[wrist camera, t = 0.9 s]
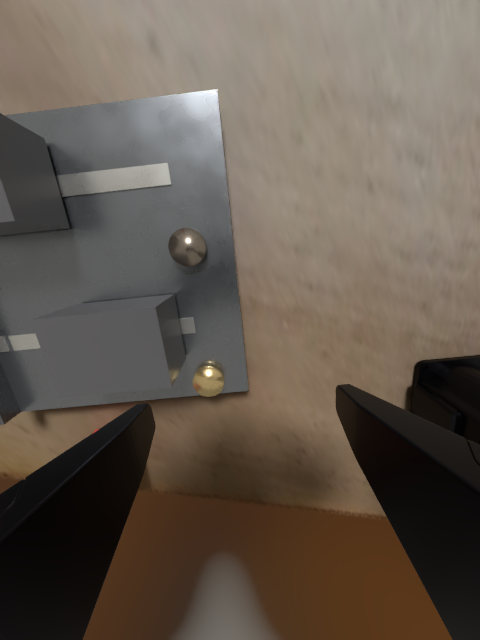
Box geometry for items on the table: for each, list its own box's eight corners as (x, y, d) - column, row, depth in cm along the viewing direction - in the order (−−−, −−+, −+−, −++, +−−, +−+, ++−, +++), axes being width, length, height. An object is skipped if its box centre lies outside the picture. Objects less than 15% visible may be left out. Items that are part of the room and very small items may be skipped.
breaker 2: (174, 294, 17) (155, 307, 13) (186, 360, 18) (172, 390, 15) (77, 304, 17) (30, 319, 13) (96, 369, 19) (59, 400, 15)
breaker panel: (219, 108, 16) (214, 70, 12) (247, 378, 21) (249, 401, 18) (-73, 144, 16) (-154, 116, 13) (29, 398, 22) (-9, 425, 18)
